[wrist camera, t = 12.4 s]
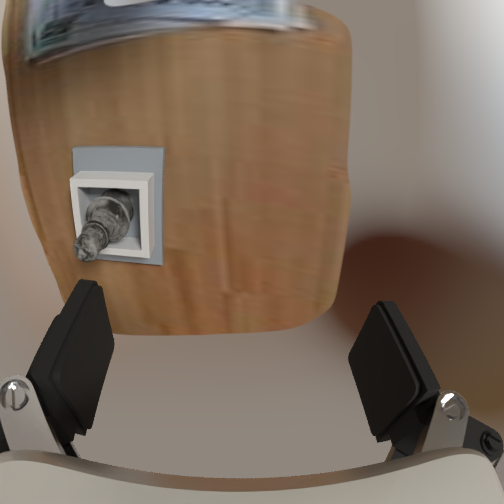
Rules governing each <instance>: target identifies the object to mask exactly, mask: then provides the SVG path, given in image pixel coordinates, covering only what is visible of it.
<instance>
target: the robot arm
mask: <svg viewBox="0 0 504 504" xmlns="http://www.w3.org/2000/svg"><path fill="white" fill-rule="evenodd" d="M113 350H114V338H113V334H112V330H111V326H110V322H109V317H108V313H107V308H106V304H105V299H104V294H103V289H102V287H101V286H98V284H97V282H96V281H92V280H84V279H80V280H79V281H78V283H77V284H76V286H75V288H74V290H73V291H72V293H71V295H70V297H69V298H68V300H67V302H66V304H65V306H64V307H63V309H62V311H61V313H60V314H59V315H57V316H56V317H55V318H54V320H53V322H52V324H51V325H50V327H49V329H48V331H47V333H46V335H45V337H44V339H43V341H42V343H41V345H40V347H39V349H38V351H37V353H36V355H35V357H34V360H33V362H32V364H31V366H30V368H29V371H28V373H27V375H26V377H23V376H19V375H13V376H9V377H7V378H6V379H4V380H3V381H2V382H1V383H0V504H504V450H503V441H502V438H501V436H500V435H499V433H498V432H496V431H495V430H494V429H492V428H490V427H489V426H487V425H485V424H483V423H481V422H480V421H478V420H476V419H474V418H472V417H471V416H469V408H468V405H467V403H466V401H465V399H464V398H463V397H462V396H461V395H460V394H458V393H457V392H454V391H444V392H442V393H441V394H440V393H439V389H440V388H441V387H440V385H439V383H438V381H437V379H436V377H435V375H434V373H433V371H432V369H431V367H430V365H429V363H428V361H427V359H426V357H425V356H424V354H423V352H422V350H421V348H420V346H419V344H418V343H417V341H416V339H415V337H414V335H413V333H412V331H411V330H410V328H409V326H408V324H407V323H406V321H405V319H404V317H403V315H402V314H401V312H400V310H399V309H398V307H397V305H396V304H395V303H394V302H393V301H378V302H377V303H376V305H374V306H373V307H372V308H371V311H370V313H369V315H368V317H367V319H366V321H365V323H364V325H363V327H362V329H361V331H360V333H359V335H358V337H357V339H356V341H355V343H354V345H353V347H352V349H351V351H350V353H349V356H348V360H349V364H350V367H351V370H352V373H353V376H354V379H355V382H356V385H357V388H358V392H359V395H360V398H361V401H362V404H363V407H364V410H365V414H366V417H367V420H368V424H369V427H370V430H371V433H372V435H373V436H376V439H377V442H383V441H388V440H390V439H391V442H392V447H391V449H390V451H389V453H388V455H387V458H386V460H385V462H382V463H378V464H373V465H368V466H363V467H358V468H353V469H348V470H341V471H334V472H328V473H320V474H311V475H302V476H291V477H277V478H254V479H253V478H250V479H249V478H247V479H235V478H230V479H229V478H203V477H189V476H178V475H169V474H160V473H153V472H146V471H139V470H134V469H128V468H122V467H117V466H112V465H107V464H102V463H98V462H93V461H89V460H85V459H81V457H80V455H79V454H78V452H77V450H76V448H75V446H74V444H73V442H72V441H73V440H74V435H75V433H76V434H80V435H84V436H85V435H86V431H87V429H91V427H92V425H93V421H94V417H95V413H96V409H97V405H98V401H99V397H100V394H101V390H102V387H103V383H104V380H105V376H106V373H107V370H108V366H109V363H110V360H111V357H112V353H113Z"/></svg>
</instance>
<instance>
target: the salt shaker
mask: <svg viewBox="0 0 504 504" xmlns="http://www.w3.org/2000/svg"><path fill="white" fill-rule="evenodd" d="M135 211H136V207H135V203H134V200H133V198H132V197H131V196H130V195H129V194H128V193H127V192H126V191H124V190H122V189H118V188H111V189H108V190H106V191H105V192H103V193H102V195H101V196H100V197H98V198H96V199H94V200H93V201H92V202H90V204H89V205H88V207H87V210H86V223H85V224H84V225H83V227H82V230H81V234H80V235H79V237H78V238H77V239H76V241H75V243H74V252H75V255H76V256H77V257H78V259H79V260H81V261H83V262H91V261H93V260H94V259H96V257H97V256H98V254H99V252H100V251H101V250H103V249H105V248H106V247H107V246H108V245H109V243H110V241H117V240H120V239H122V238H123V237H124V236H125V235H126V234H127V232H128V230H129V227H130V222H131V221H132V219H133V218H134V215H135Z"/></svg>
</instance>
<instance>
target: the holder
mask: <svg viewBox="0 0 504 504" xmlns="http://www.w3.org/2000/svg"><path fill="white" fill-rule="evenodd" d="M72 150H73V169H74V176H73V177H71V178H70V188H71V198H72V207H73V215H74V222H75V229H76V236H77V238H78V237H79V235H80V234H81V230H82V227H83V225H84V224H85V223H86V210H87V207H88V205H89V204H90V202H92V201H93V200H94V199H96V198H98V197H100V196H101V195H102V193H103V192H105V191H106V190H108V189H111V188H118V189H122V190H124V191H126V192H127V193H128V194H129V195H130V196H131V197H132V198H133V200H134V203H135V207H136V211H135V215H134V218H133V219H132V221H131V222H130V227H129V230H128V232H127V234H126V235H125V236H124V237H123V238H122V239H120V240H117V241H110V243H109V245H108V246H107V247H106V248H105V249H103V250H101V251H100V252H99V254H98V256H97V257H96V259H102V260H112V261H123V262H133V263H144V264H155V265H163V262H164V251H163V189H164V158H165V147H150V146H75V147H74V148H72Z"/></svg>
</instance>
